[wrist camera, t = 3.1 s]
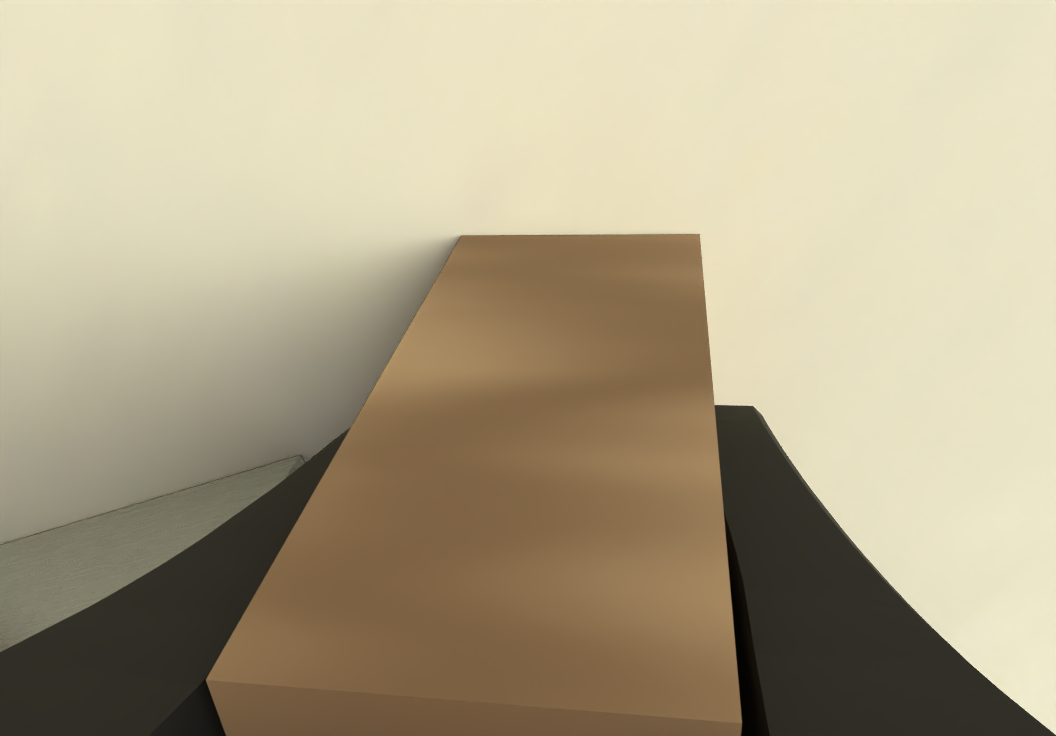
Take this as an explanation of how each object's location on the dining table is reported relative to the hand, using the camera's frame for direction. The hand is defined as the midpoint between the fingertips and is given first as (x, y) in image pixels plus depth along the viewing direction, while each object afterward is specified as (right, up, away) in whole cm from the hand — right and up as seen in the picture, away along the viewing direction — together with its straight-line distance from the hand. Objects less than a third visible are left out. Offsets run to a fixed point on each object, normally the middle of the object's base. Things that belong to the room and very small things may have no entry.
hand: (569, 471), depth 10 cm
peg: (0, +1, +2) cm, 2 cm away
